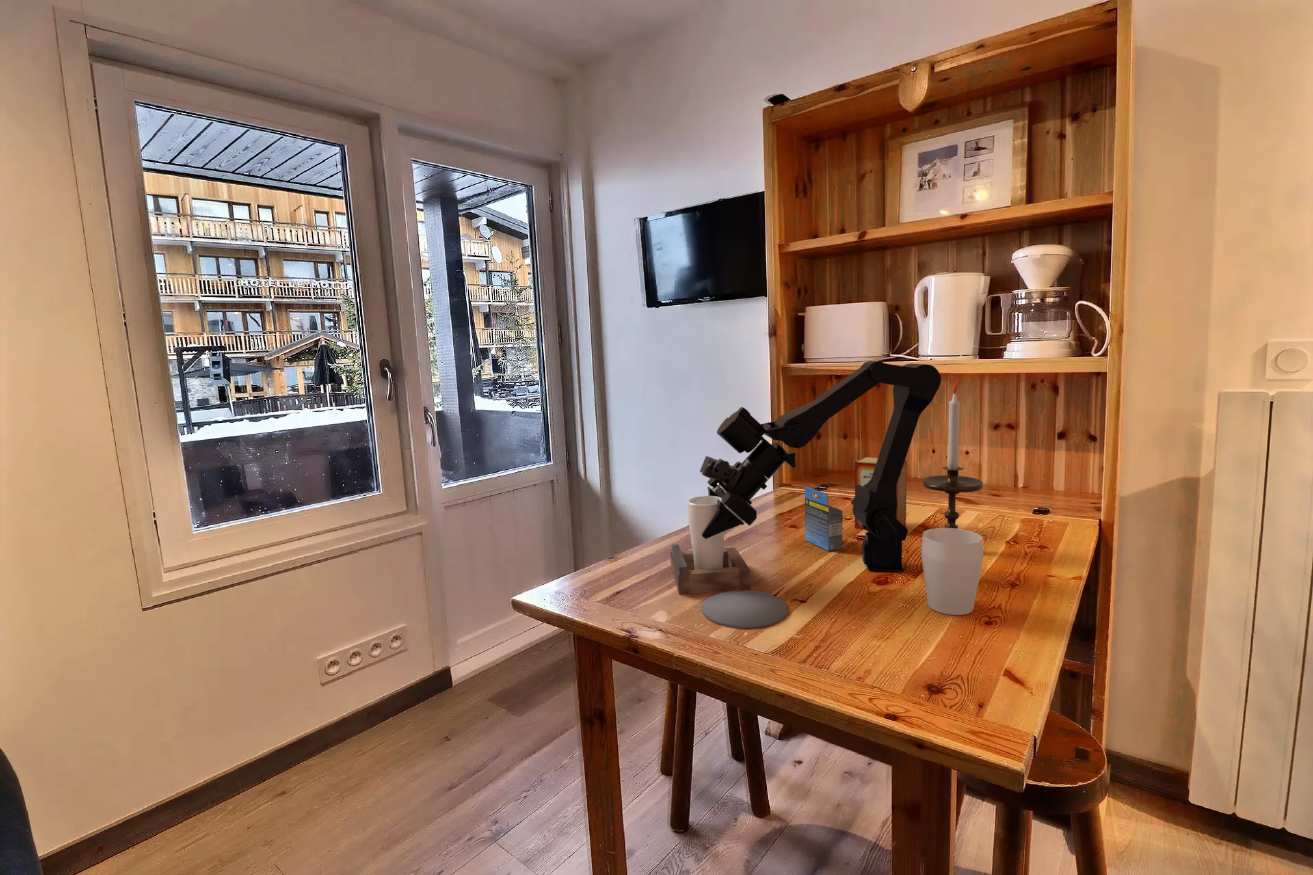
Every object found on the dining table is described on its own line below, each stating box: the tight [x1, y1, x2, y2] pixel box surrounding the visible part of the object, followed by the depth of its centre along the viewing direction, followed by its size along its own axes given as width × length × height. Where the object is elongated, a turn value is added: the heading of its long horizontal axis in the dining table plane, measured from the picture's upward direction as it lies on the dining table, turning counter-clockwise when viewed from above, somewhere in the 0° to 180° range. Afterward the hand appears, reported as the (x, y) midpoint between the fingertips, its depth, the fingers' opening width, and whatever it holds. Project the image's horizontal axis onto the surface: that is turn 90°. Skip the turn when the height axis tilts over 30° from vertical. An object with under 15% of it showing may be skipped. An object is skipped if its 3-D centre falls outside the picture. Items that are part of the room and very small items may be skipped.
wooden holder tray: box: [669, 544, 752, 595], centre depth 121 cm, size 13×13×5 cm
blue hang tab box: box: [803, 485, 844, 552], centre depth 137 cm, size 9×4×12 cm, turn 20°
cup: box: [920, 527, 984, 616], centre depth 103 cm, size 9×9×12 cm
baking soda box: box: [854, 456, 908, 530], centre depth 147 cm, size 10×6×16 cm
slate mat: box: [701, 590, 789, 629], centre depth 107 cm, size 14×14×1 cm
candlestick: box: [922, 378, 984, 529], centre depth 129 cm, size 11×11×35 cm
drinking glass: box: [687, 495, 725, 570], centre depth 120 cm, size 7×7×15 cm
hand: (700, 531), depth 120 cm, fingers open, 7 cm apart
